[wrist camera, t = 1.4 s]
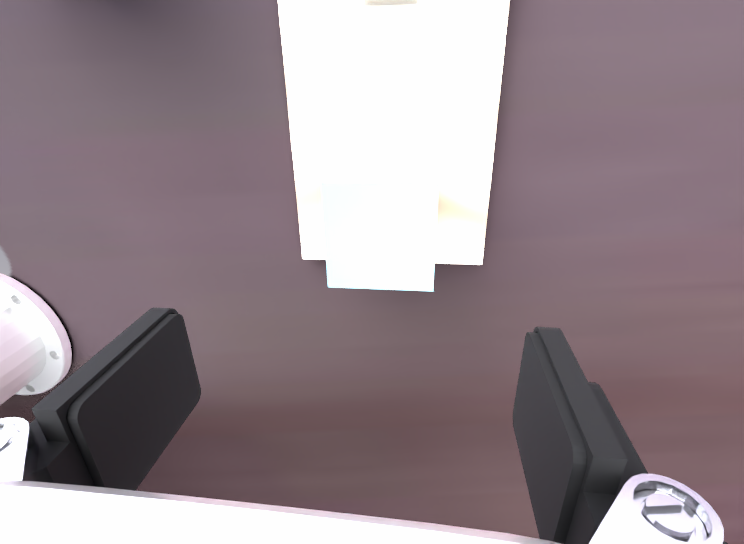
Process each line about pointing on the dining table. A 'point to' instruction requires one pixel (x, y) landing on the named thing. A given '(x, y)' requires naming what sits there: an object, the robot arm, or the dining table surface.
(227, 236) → the dining table surface
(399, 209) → the pale aqua block
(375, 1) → the post
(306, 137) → the base board
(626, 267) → the dining table surface
